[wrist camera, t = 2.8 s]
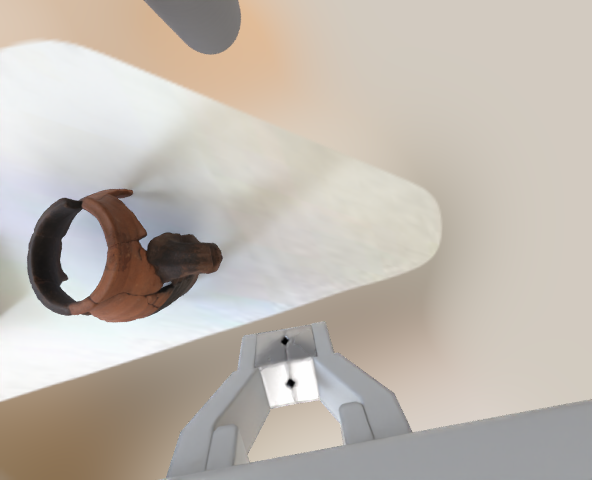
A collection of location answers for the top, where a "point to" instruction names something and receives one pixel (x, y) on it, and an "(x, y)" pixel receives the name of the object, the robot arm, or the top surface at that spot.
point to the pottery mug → (117, 261)
